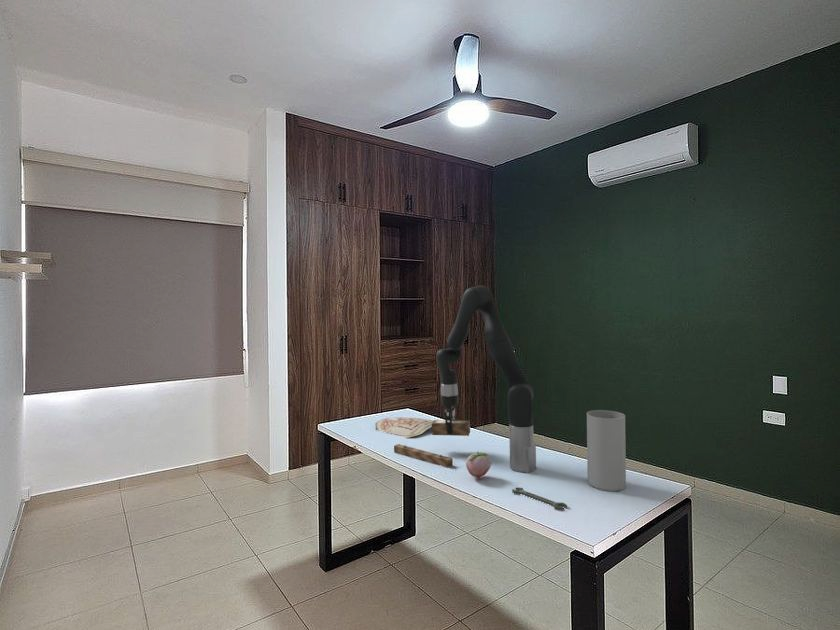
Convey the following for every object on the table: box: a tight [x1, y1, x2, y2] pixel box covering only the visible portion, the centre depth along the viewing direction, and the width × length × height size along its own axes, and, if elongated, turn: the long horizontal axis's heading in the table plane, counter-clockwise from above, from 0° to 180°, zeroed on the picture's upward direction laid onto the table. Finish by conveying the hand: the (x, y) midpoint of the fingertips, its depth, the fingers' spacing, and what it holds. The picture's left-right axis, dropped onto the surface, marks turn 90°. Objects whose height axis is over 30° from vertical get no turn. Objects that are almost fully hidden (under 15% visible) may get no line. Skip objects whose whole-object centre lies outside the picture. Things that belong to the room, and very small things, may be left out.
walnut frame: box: [431, 419, 471, 437], centre depth 197 cm, size 16×6×5 cm, turn 78°
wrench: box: [511, 486, 568, 511], centre depth 148 cm, size 5×20×1 cm, turn 41°
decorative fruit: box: [465, 451, 491, 479], centre depth 167 cm, size 9×8×10 cm
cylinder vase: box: [586, 409, 627, 492], centre depth 158 cm, size 12×12×25 cm
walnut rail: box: [393, 443, 454, 469], centre depth 189 cm, size 30×3×4 cm, turn 49°
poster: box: [375, 416, 434, 439], centre depth 237 cm, size 28×6×30 cm
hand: (450, 431), depth 197 cm, fingers closed on walnut frame, 6 cm apart
